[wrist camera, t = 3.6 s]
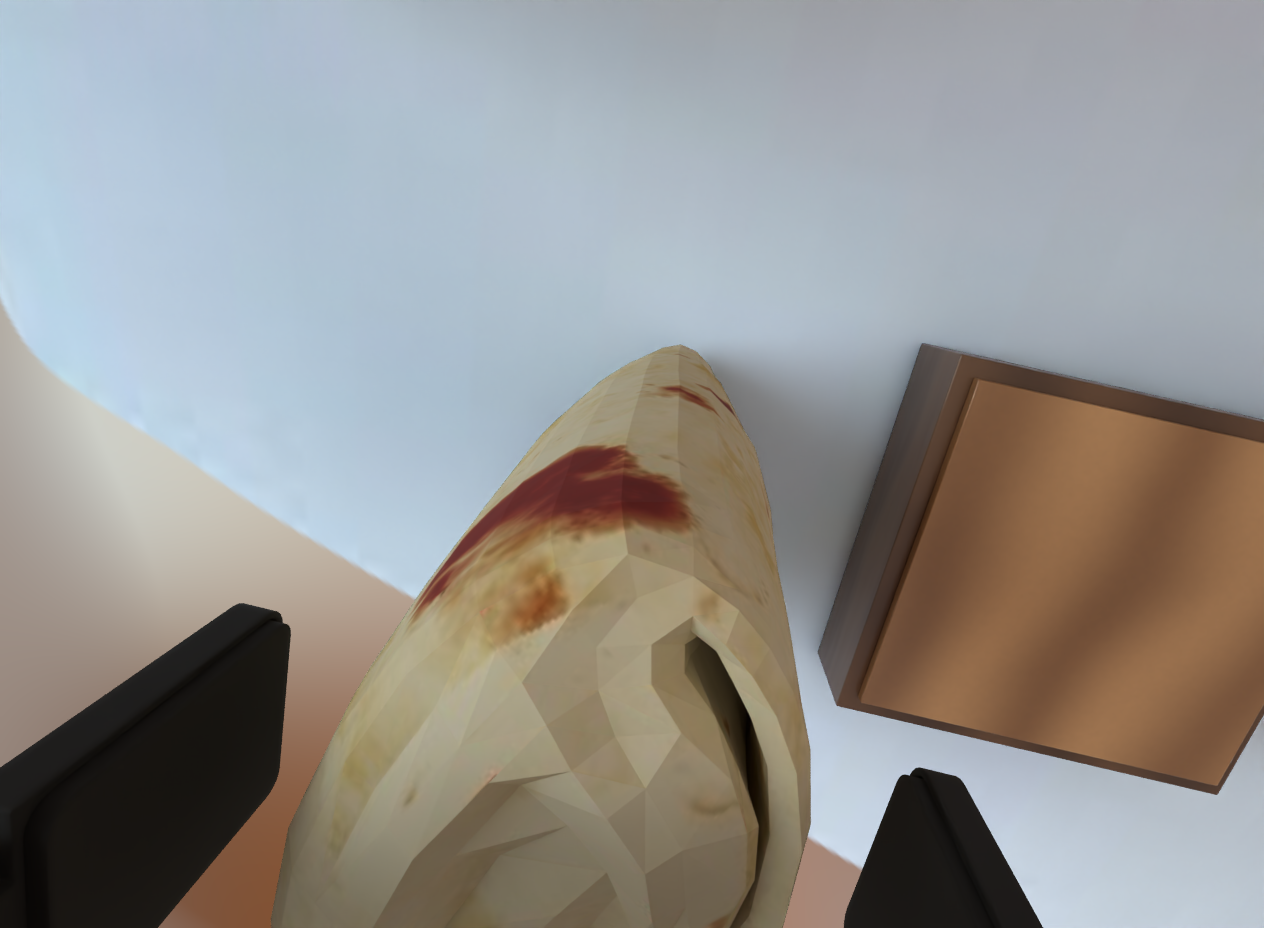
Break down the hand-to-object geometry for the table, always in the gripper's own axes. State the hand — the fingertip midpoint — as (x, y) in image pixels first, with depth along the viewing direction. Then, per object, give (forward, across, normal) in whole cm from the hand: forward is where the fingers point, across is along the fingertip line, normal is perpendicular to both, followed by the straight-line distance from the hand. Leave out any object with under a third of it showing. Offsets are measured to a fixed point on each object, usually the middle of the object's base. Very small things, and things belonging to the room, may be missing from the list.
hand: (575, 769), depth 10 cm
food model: (+17, 0, 0) cm, 17 cm away
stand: (+17, -16, 0) cm, 23 cm away
